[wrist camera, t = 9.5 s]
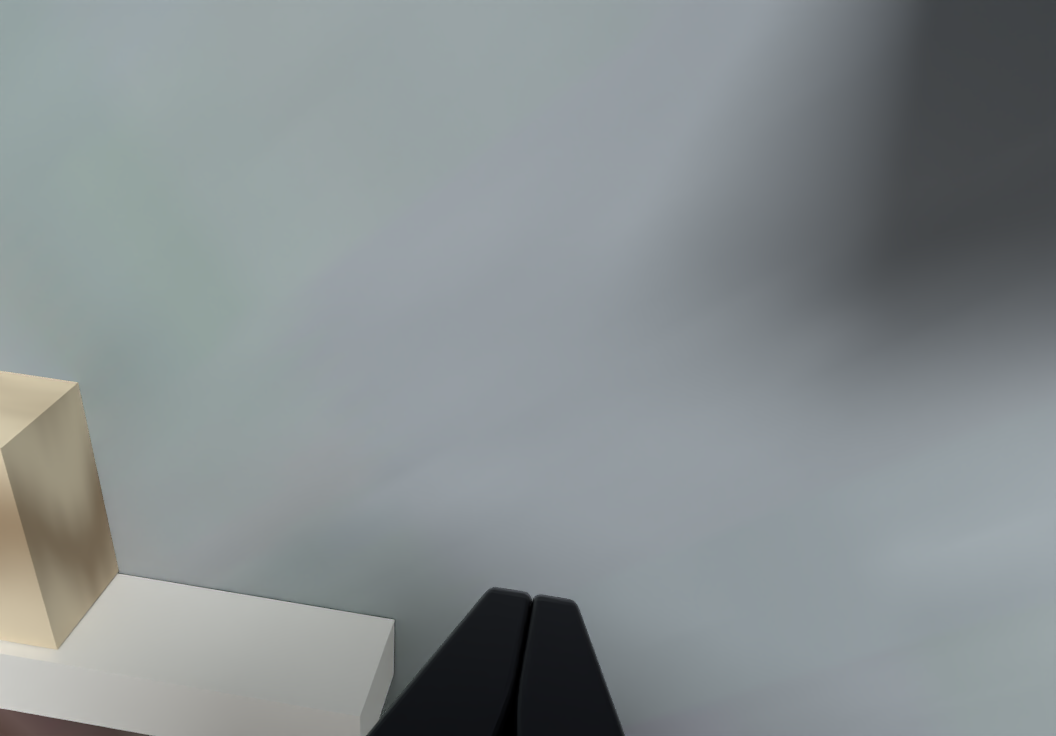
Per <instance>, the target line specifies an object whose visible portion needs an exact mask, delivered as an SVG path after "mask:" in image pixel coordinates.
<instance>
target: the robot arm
mask: <svg viewBox="0 0 1056 736" xmlns="http://www.w3.org/2000/svg"><path fill="white" fill-rule="evenodd" d="M366 736H625V734H624V731H623V728H622V726H621V723H620V720H619V717H618V715H617V712H616V709H615V706H614V704H613V701H612V698H611V695H610V693H609V690H608V687H607V684H606V682H605V679H604V676H603V673H602V670H601V668H600V665H599V662H598V659H597V657H596V654H595V651H594V648H593V646H592V643H591V640H590V637H589V635H588V632H587V629H586V626H585V624H584V621H583V618H582V615H581V613H580V610H579V608H578V606H577V604H576V603H575V602H574V601H573V600H571V599H565V598H559V597H553V596H547V595H537V596H535V597H534V598H533V600H532V598H531V596H530V595H529V594H528V593H527V592H523V591H517V590H511V589H504V588H498V587H493V588H491V589H489V590H488V591H486V592H485V594H484V595H483V596H482V597H481V598H480V599H479V601H478V602H477V603H476V604H475V605H474V607H473V608H472V609H471V610H470V611H469V613H468V614H467V615H466V616H465V617H464V619H463V620H462V621H461V622H460V623H459V625H458V626H457V627H456V628H455V629H454V631H453V632H452V633H451V634H450V635H449V637H448V638H447V639H446V640H445V641H444V643H443V644H442V645H441V646H440V647H439V649H438V650H437V651H436V652H435V653H434V655H433V656H432V657H431V658H430V659H429V661H428V662H427V663H426V664H425V665H424V667H423V668H422V669H421V670H420V671H419V673H418V674H417V675H416V676H415V677H414V679H413V680H412V681H411V682H410V683H409V684H408V686H407V687H406V688H405V689H404V690H403V692H402V693H401V694H400V695H399V696H398V698H397V699H396V700H395V701H394V702H393V704H392V705H391V706H390V707H389V708H388V710H387V711H386V712H385V713H384V714H383V716H382V717H381V718H380V719H379V720H378V722H377V723H376V724H375V725H374V726H373V728H372V729H371V730H370V731H369V732H368V734H367V735H366Z"/></svg>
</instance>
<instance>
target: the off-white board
mask: <svg viewBox="0 0 1056 736" xmlns="http://www.w3.org/2000/svg"><path fill="white" fill-rule="evenodd" d="M394 621H395V620H394V619H388V618H382V617H376V616H370V615H364V614H358V613H352V612H346V611H340V610H334V609H328V608H322V607H316V606H310V605H304V604H298V603H292V602H286V601H280V600H274V599H268V598H262V597H256V596H250V595H244V594H238V593H232V592H226V591H220V590H214V589H208V588H202V587H196V586H190V585H184V584H178V583H172V582H166V581H160V580H154V579H148V578H142V577H136V576H130V575H124V574H118V573H117V574H116V576H115V577H114V578H113V579H112V581H111V582H110V583H109V584H108V586H107V587H106V588H105V590H104V591H103V592H102V593H101V595H100V596H99V597H98V598H97V600H96V601H95V602H94V604H93V605H92V606H91V607H90V609H89V610H88V611H87V612H86V614H85V615H84V616H83V618H82V619H81V620H80V621H79V623H78V624H77V625H76V627H75V628H74V629H73V630H72V632H71V633H70V634H69V635H68V637H67V638H66V639H65V641H64V642H63V643H62V644H61V646H60V647H59V648H58V649H57V650H56V649H50V648H44V647H38V646H33V645H27V644H21V643H15V642H9V641H4V640H0V708H3V709H8V710H14V711H19V712H25V713H30V714H36V715H42V716H47V717H53V718H58V719H64V720H69V721H75V722H80V723H86V724H92V725H97V726H103V727H108V728H114V729H119V730H125V731H130V732H136V733H141V734H147V735H153V736H366V735H367V734H368V732H369V731H370V730H371V729H372V728H373V726H374V725H375V724H376V723H377V722H378V720H379V717H380V714H381V711H382V708H383V705H384V702H385V699H386V696H387V693H388V690H389V687H390V684H391V681H392V678H393V675H394Z"/></svg>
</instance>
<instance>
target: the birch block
mask: <svg viewBox="0 0 1056 736" xmlns="http://www.w3.org/2000/svg"><path fill="white" fill-rule="evenodd" d="M118 572H119V570H118V565H117V561H116V556H115V551H114V547H113V542H112V537H111V533H110V528H109V524H108V519H107V514H106V510H105V505H104V500H103V496H102V491H101V487H100V482H99V477H98V473H97V468H96V463H95V459H94V454H93V449H92V445H91V440H90V436H89V431H88V426H87V422H86V417H85V412H84V408H83V403H82V399H81V394H80V389H79V385H78V382H71V381H64V380H58V379H51V378H45V377H38V376H31V375H25V374H18V373H11V372H5V371H0V640H4V641H9V642H15V643H21V644H27V645H33V646H38V647H44V648H50V649H56V650H57V649H58V648H59V647H60V646H61V644H62V643H63V642H64V641H65V639H66V638H67V637H68V635H69V634H70V633H71V632H72V630H73V629H74V628H75V627H76V625H77V624H78V623H79V621H80V620H81V619H82V618H83V616H84V615H85V614H86V612H87V611H88V610H89V609H90V607H91V606H92V605H93V604H94V602H95V601H96V600H97V598H98V597H99V596H100V595H101V593H102V592H103V591H104V590H105V588H106V587H107V586H108V584H109V583H110V582H111V581H112V579H113V578H114V577H115V576H116V574H117V573H118Z"/></svg>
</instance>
